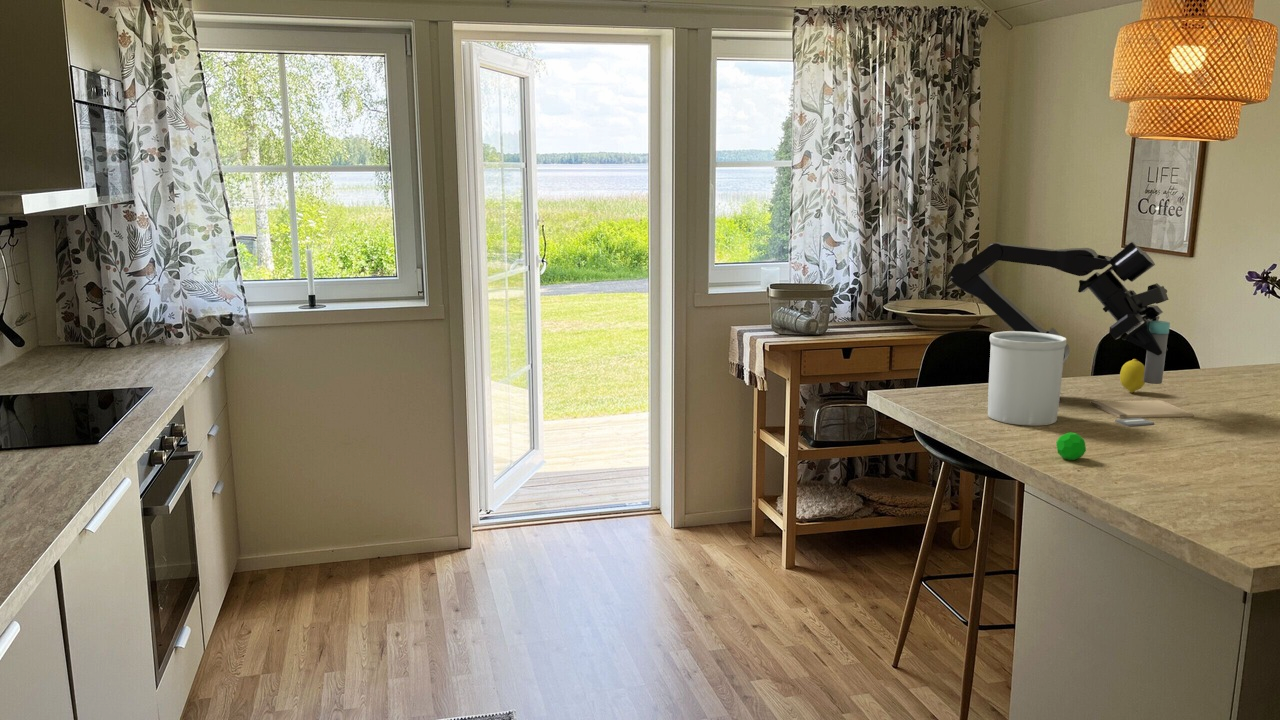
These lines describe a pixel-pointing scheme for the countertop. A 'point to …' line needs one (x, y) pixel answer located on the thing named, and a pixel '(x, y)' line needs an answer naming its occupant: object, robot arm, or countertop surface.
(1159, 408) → the notepad
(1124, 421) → the word tile
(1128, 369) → the lemon
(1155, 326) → the marker
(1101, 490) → the countertop surface
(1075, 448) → the polyhedron
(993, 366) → the utensil holder
